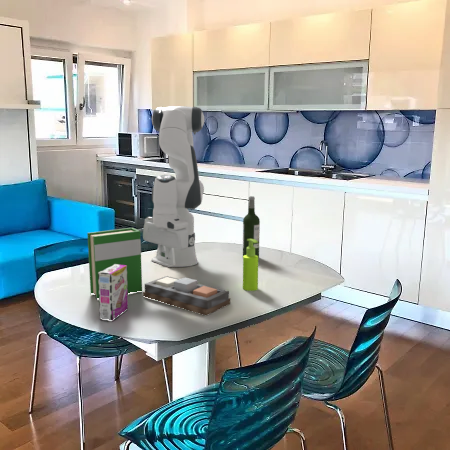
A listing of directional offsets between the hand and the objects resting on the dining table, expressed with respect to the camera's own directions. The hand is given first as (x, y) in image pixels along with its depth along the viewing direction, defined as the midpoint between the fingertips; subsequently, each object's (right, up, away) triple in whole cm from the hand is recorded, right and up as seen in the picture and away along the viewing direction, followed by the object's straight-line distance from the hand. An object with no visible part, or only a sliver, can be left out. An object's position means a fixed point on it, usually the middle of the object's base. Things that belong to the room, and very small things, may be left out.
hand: (164, 256), depth 181 cm
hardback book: (-19, -15, +4) cm, 24 cm away
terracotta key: (+15, -15, -8) cm, 23 cm away
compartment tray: (+8, -16, -3) cm, 18 cm away
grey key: (+8, -12, -4) cm, 15 cm away
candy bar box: (-15, -19, -17) cm, 29 cm away
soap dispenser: (+33, -14, +10) cm, 37 cm away
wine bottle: (+35, -5, +55) cm, 65 cm away
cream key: (+1, -12, +2) cm, 13 cm away
